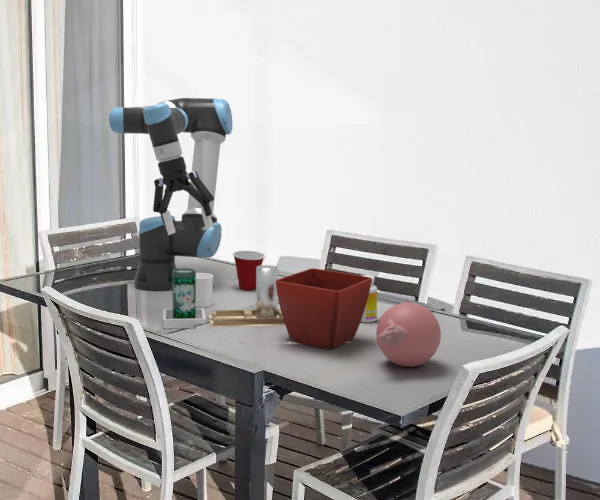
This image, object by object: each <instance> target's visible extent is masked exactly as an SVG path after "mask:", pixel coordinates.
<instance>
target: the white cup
mask: <svg viewBox="0 0 600 500" xmlns="http://www.w3.org/2000/svg"><path fill="white" fill-rule="evenodd" d="M213 285H214V275H213V274H212V273H208V272H196V308H204V307H210V306H211V305H212V300H213V290H214V289H213Z"/></svg>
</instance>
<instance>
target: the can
mask: <svg viewBox="0 0 600 500" xmlns="http://www.w3.org/2000/svg"><path fill="white" fill-rule="evenodd" d="M196 273H197V271H196V270H195V269H193V268H187V267H186V268H184V267H183V268H181V267H180V268H177V269H174V270H173V289H172V309H173V318H172V319H195V318H196V316H197V314H196V308H197V307H196Z"/></svg>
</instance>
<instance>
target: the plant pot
mask: <svg viewBox="0 0 600 500" xmlns="http://www.w3.org/2000/svg"><path fill="white" fill-rule="evenodd" d="M371 282H372V278H371V277H366V276H362V275H360V274H353V273H347V272H341V271H340V272H339V271H334V270H327V269H320V268H308V269H305V270H301V271H299V272H295V273H293V274H290V275H287V276H283V277H282V278H278V279H277V280H276V289H277V301H278V304H279V307H280V308H279V309H281V312H282V316H283V319H284V322H285V325H284V326H285V328H286V331H287V334H288V336H289V338H290V339H291V340H290V341H291V342H294V343H298V344H303V345H307V346H312V347H317V348H321V349H326V350H333V349H336V348H338V347H340V346H342V345H344V344H346V343H347V342H350V341H351V340H353V339H354V338H355V337H356V334H357V332H358V329H359V327H360V324H361V323H362V322H361V319H362V316H363V313H364V310H365V307H366V303H367V300H368V296H369V291H370V287H371Z"/></svg>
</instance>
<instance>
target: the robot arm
mask: <svg viewBox="0 0 600 500" xmlns="http://www.w3.org/2000/svg"><path fill="white" fill-rule="evenodd" d="M108 116H109V117H108V123H109V124H108V125H109V127H110V129H111V131H112V132H114V133H116V134H133V135H134V134H139V135H141V134H143V135H149V139H150V141H151V145H152V149H153V152H154V156H155V158H156V159H155V160H156V161H158V164H157V166H158V169H159V174H160V175H161V176H162V177H159V178H157V179H155V180H154V181H153V184H154V188H155V189H154V198H153V206H152V211H153V212H154V213H159V215H158V216H151V217H146V218H144V219H142V220H140V222H139V224H138V226H139V228H138V243H139V245H138V251H139V252H138V253H139V264H138V266H137V270H136V273H135V276H134V281H133V284H134V287H135V288H136V289H139V290H143V291H144V290H145V291H168V290H173V270H174V269H178V268H177V264H176V257H187V258H199V259H201V258H202V259H203V258H208V259H209V258H212V257H214V256H215V255H216V254H217V252H218V250H219V247H220V244H221V242H222V241H221V239H222V236H223V235H222V226H221V224H220V223H219V222H218V218H217V216H216V215H215V214H214V207H215V198H216V190H217V189H216V188H217V179H218V170H219V162H220V161H219V159H220V150H221V145H222V144H223V143H225V141H226V137H227V135H228V136H229V135H230V134H232V131H233V114H232V110H231V106H230V103H229V102H228V101H227V100H226V99H223V98H220V99H219V98H216V97H214V98H205V97H204V98H200V97H191V98H190V97H180V98H174V99H168V100H162V101H159V102H158V103H156V104H153V105H144V106H143V105H142V106H135V107H132V106H131V107H123V106H121V107H113V108H112V109H111V110H110V112H109V115H108ZM181 133H188V134H189V133H190V137H191V139H192V140H193V141H194V146H193V154H192V155H193V157H192V164H191V172H189V173H188V172H187V165H186V161H185V157H183V149H182V147H181V144H180V140H179V136H178V135H179V134H181ZM164 186H165V189H164ZM180 191H184V192H187V193H188V200H187V210H186V211H185V212H183V213H182V214H181V220H176V217H175V215H172V214H171V211H170V210H169V209H168V208H169V205H170V203H171V200H172V197H173V194H174V193H175V192H180Z"/></svg>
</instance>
